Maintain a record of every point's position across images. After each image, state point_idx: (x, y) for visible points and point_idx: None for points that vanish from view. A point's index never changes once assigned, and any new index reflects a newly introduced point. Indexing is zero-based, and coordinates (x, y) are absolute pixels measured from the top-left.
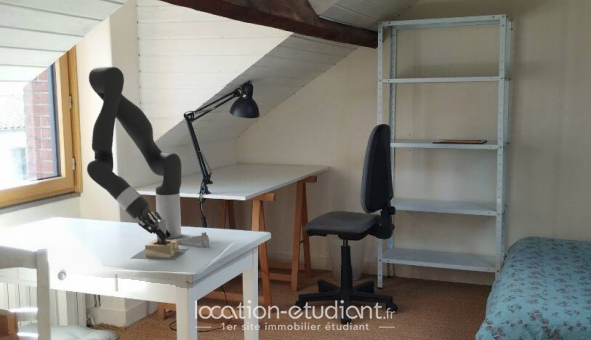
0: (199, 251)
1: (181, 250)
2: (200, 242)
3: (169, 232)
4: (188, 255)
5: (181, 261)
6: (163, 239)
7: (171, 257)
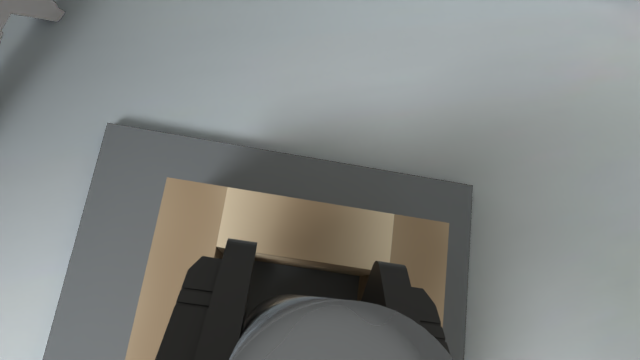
0: (164, 39)
1: (165, 180)
2: (17, 8)
3: (230, 256)
4: (291, 108)
5: (465, 135)
6: None
7: None
